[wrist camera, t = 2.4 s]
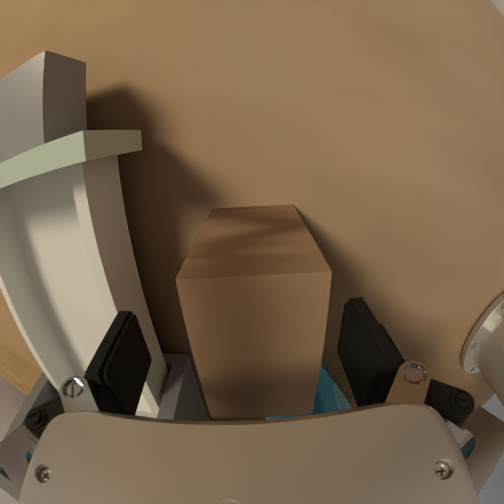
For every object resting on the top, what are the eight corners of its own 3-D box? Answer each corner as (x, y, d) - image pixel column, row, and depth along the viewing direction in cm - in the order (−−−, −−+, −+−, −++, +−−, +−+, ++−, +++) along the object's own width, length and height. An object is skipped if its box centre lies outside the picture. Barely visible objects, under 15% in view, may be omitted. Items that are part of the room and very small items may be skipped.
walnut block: (293, 204, 17) (332, 271, 9) (292, 312, 20) (312, 413, 12) (212, 209, 17) (175, 279, 9) (224, 315, 20) (211, 417, 12)
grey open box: (188, 354, 22) (146, 560, 5) (220, 451, 29) (213, 563, 13) (63, 342, 22) (-14, 476, 6) (127, 440, 30) (102, 537, 14)
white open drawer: (138, 52, 12) (85, 20, 6) (191, 384, 21) (180, 441, 16) (-6, 117, 12) (-59, 125, 6) (66, 368, 22) (42, 409, 16)
